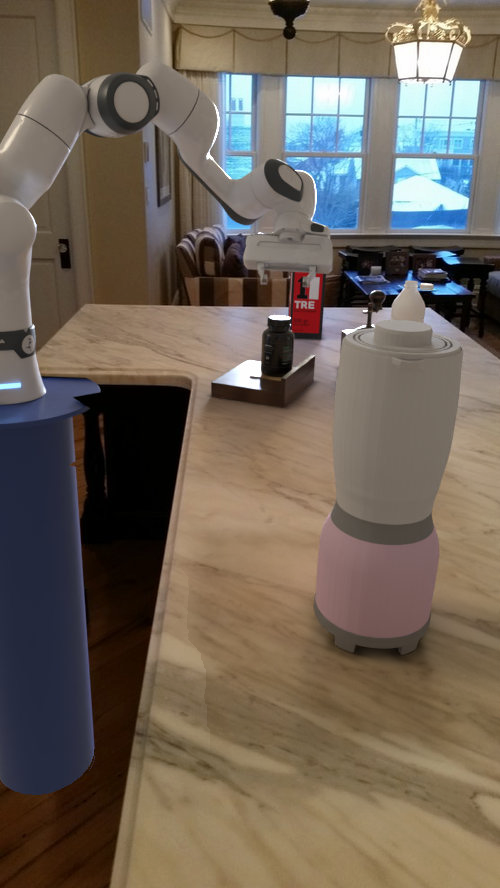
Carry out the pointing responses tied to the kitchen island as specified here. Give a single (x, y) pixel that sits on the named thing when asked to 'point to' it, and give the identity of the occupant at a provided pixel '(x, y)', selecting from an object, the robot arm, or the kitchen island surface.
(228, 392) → the shelf
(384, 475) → the blender
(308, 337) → the cleaning product box
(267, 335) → the supplement bottle
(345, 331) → the coffee grinder
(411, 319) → the water bottle
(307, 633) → the kitchen island surface
